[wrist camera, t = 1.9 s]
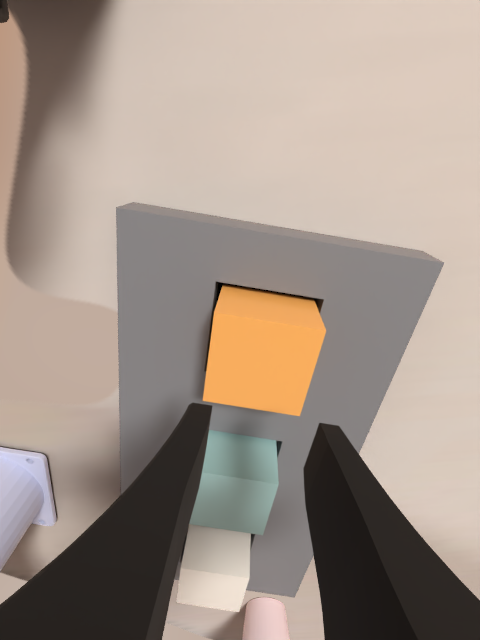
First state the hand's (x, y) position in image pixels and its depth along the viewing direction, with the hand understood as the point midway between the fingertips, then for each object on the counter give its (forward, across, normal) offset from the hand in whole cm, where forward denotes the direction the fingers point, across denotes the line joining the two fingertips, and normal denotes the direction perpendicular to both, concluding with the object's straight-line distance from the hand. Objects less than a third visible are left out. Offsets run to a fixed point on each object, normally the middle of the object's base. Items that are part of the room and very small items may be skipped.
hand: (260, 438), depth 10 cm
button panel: (+8, 0, +9) cm, 12 cm away
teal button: (+7, 0, +9) cm, 11 cm away
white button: (+7, 0, +18) cm, 19 cm away
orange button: (+7, 0, 0) cm, 7 cm away
